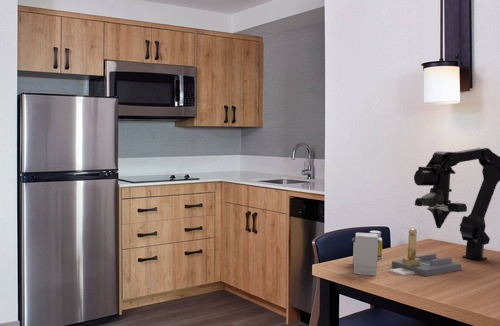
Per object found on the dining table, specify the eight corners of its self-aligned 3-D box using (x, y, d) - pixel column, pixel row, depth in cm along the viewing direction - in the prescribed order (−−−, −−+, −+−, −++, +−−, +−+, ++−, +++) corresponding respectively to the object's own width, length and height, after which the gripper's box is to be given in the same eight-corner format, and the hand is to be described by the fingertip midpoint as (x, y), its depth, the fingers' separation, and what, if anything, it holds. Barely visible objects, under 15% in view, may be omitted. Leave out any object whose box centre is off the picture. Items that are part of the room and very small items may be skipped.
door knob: (412, 262, 187) (414, 227, 186) (419, 264, 184) (421, 228, 183) (402, 264, 184) (404, 228, 183) (409, 266, 181) (411, 229, 180)
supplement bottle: (383, 257, 204) (384, 231, 203) (380, 260, 199) (381, 233, 198) (368, 255, 206) (369, 229, 206) (365, 258, 201) (366, 231, 201)
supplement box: (376, 276, 176) (378, 237, 175) (353, 274, 177) (355, 235, 177) (376, 270, 183) (377, 233, 183) (353, 268, 185) (355, 231, 184)
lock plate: (427, 261, 199) (428, 251, 199) (460, 269, 188) (461, 259, 188) (391, 266, 189) (392, 256, 189) (424, 276, 177) (425, 265, 177)
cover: (400, 271, 186) (400, 267, 185) (414, 275, 181) (415, 271, 181) (388, 273, 182) (388, 269, 182) (402, 277, 177) (403, 273, 177)
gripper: (406, 183, 202) (403, 225, 203) (449, 189, 187) (446, 234, 188) (425, 183, 209) (423, 223, 209) (469, 188, 193) (466, 232, 194)
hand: (438, 228), depth 200 cm, fingers closed
